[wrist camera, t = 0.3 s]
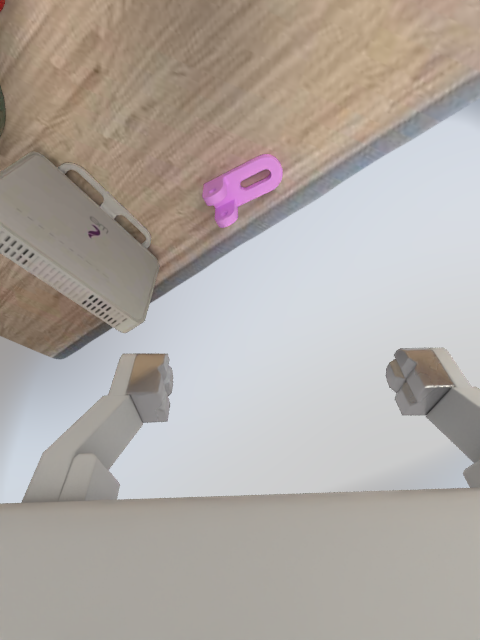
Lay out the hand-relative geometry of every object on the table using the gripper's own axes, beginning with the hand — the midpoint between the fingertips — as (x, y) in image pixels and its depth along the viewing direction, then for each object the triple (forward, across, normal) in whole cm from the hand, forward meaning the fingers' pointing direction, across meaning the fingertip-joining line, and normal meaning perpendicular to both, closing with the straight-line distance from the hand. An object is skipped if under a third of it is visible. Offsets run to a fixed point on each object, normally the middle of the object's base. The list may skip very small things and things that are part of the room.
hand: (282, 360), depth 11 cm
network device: (+47, +25, +17) cm, 56 cm away
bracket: (+47, -1, +11) cm, 48 cm away
